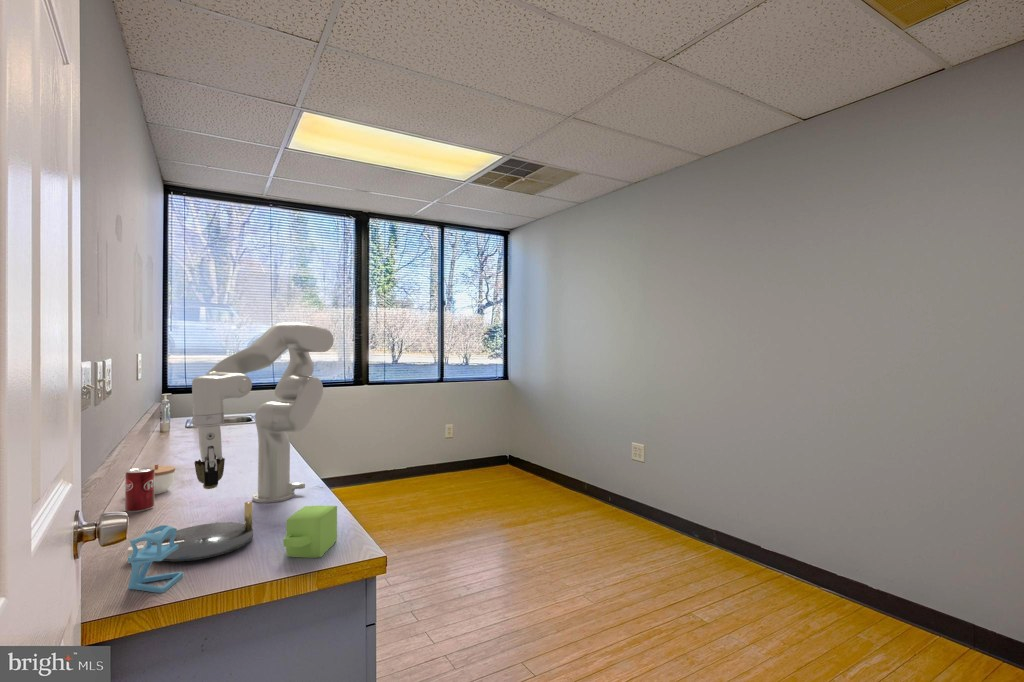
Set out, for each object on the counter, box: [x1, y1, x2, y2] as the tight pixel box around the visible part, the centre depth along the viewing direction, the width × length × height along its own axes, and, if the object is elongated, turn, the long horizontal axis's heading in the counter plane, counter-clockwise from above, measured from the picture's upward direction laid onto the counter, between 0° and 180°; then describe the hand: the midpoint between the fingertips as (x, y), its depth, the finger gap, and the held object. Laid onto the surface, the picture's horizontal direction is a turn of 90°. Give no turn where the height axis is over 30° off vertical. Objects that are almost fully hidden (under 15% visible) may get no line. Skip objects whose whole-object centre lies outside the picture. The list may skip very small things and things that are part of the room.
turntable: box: [152, 501, 254, 562], centre depth 126 cm, size 22×22×8 cm
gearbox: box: [282, 505, 338, 559], centre depth 127 cm, size 18×10×10 cm, turn 178°
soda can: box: [124, 466, 156, 513], centre depth 156 cm, size 7×7×12 cm
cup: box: [194, 456, 226, 490], centre depth 144 cm, size 8×7×8 cm
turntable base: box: [127, 544, 145, 564], centre depth 124 cm, size 22×14×3 cm, turn 125°
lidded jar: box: [150, 463, 176, 495], centre depth 173 cm, size 11×11×9 cm
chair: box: [127, 524, 184, 594], centre depth 107 cm, size 8×8×12 cm
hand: (210, 481), depth 144 cm, fingers closed on cup, 7 cm apart
